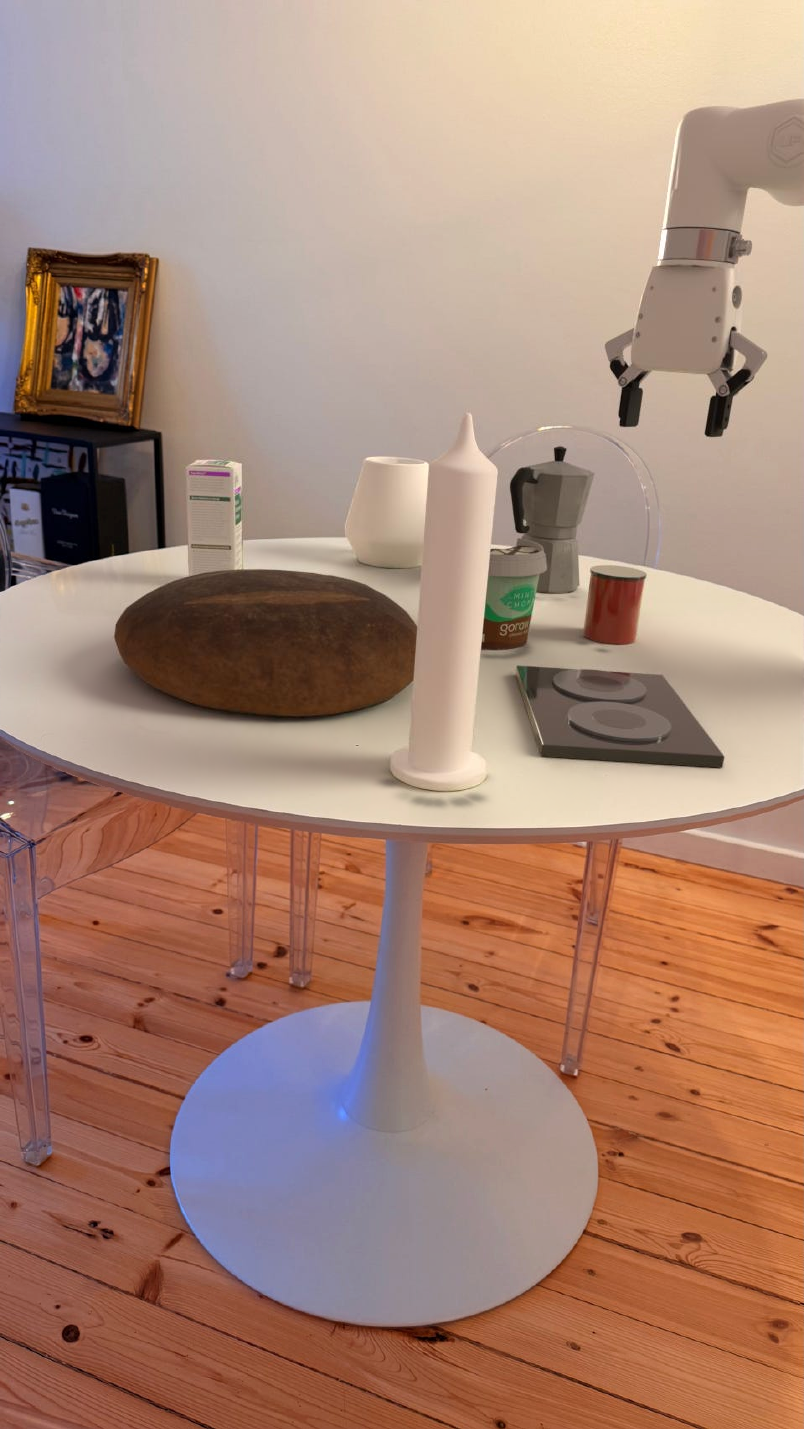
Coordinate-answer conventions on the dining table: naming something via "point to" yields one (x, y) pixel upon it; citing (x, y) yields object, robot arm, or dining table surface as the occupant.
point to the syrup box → (214, 516)
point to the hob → (613, 717)
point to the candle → (450, 620)
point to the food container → (511, 594)
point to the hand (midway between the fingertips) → (669, 431)
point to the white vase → (389, 512)
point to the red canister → (614, 604)
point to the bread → (270, 642)
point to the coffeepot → (552, 516)
